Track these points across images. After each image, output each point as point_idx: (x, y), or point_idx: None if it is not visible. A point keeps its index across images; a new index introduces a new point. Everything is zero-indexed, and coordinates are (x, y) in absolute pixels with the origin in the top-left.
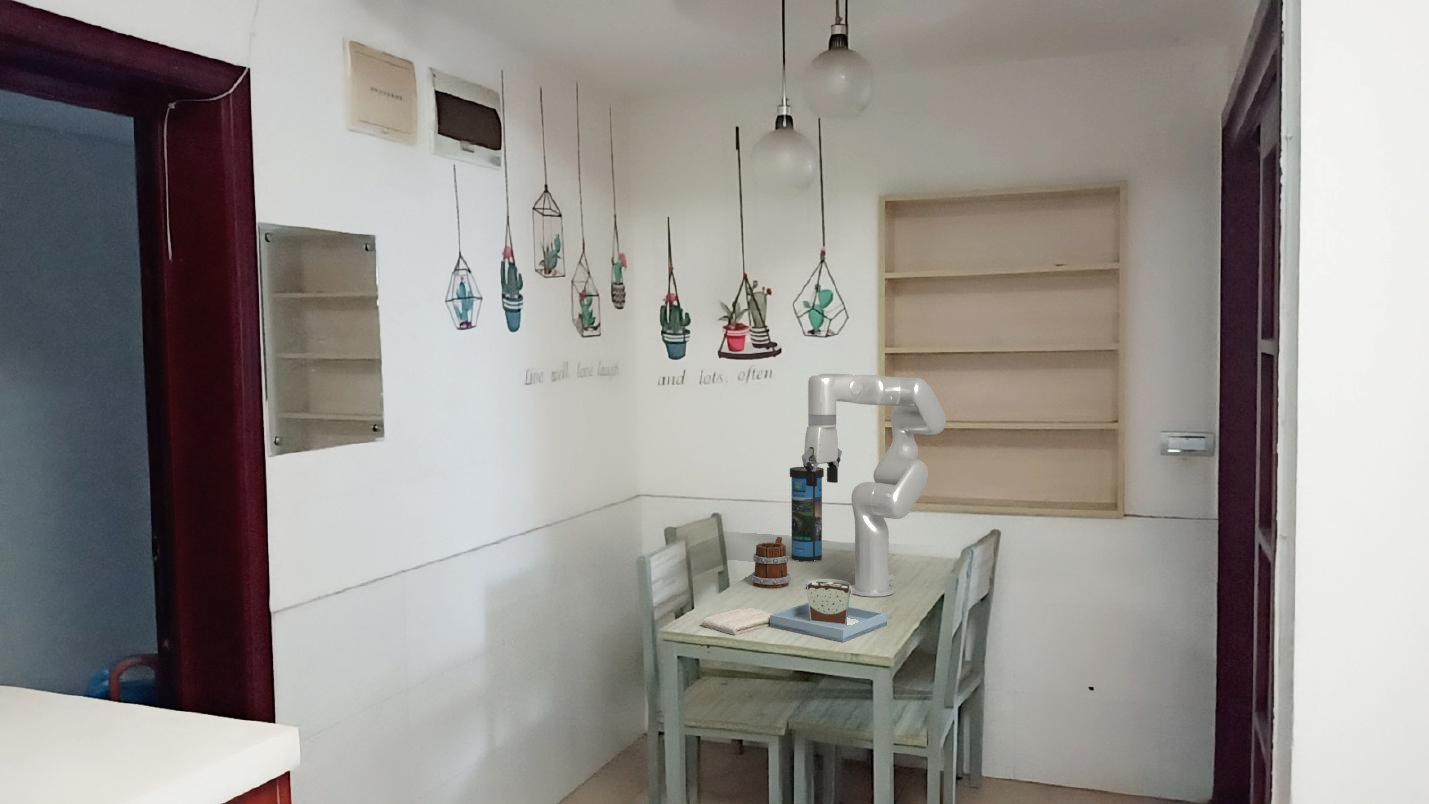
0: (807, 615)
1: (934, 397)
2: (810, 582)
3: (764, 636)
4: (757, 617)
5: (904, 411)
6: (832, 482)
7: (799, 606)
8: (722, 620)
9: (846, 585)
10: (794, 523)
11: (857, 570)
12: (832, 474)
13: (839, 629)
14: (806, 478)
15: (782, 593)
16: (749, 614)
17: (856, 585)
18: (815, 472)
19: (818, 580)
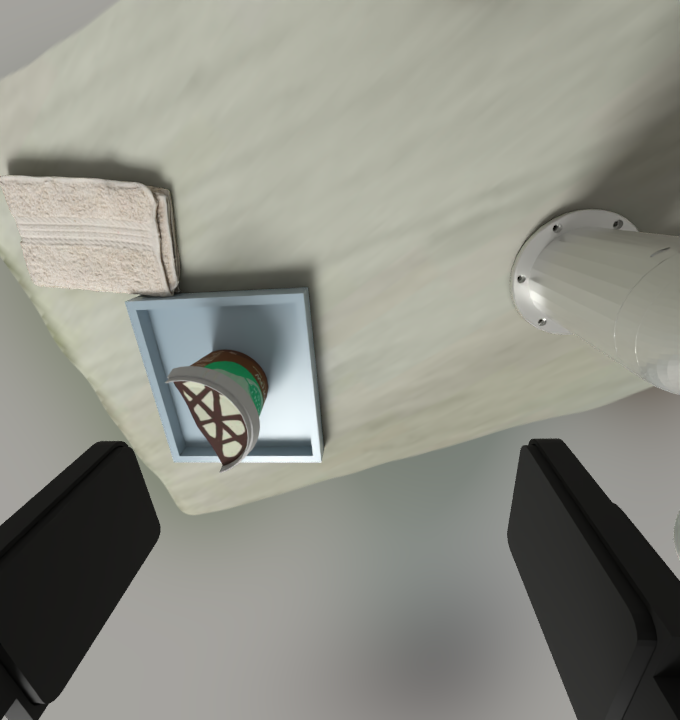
0: (240, 318)
1: None
2: (184, 379)
3: (92, 331)
4: (112, 271)
5: None
6: (518, 497)
7: (229, 303)
8: (27, 229)
9: (244, 445)
10: None
11: (563, 267)
12: (555, 594)
13: (172, 455)
14: (36, 498)
15: (406, 67)
16: (115, 234)
17: (546, 253)
18: (14, 702)
19: (210, 386)
